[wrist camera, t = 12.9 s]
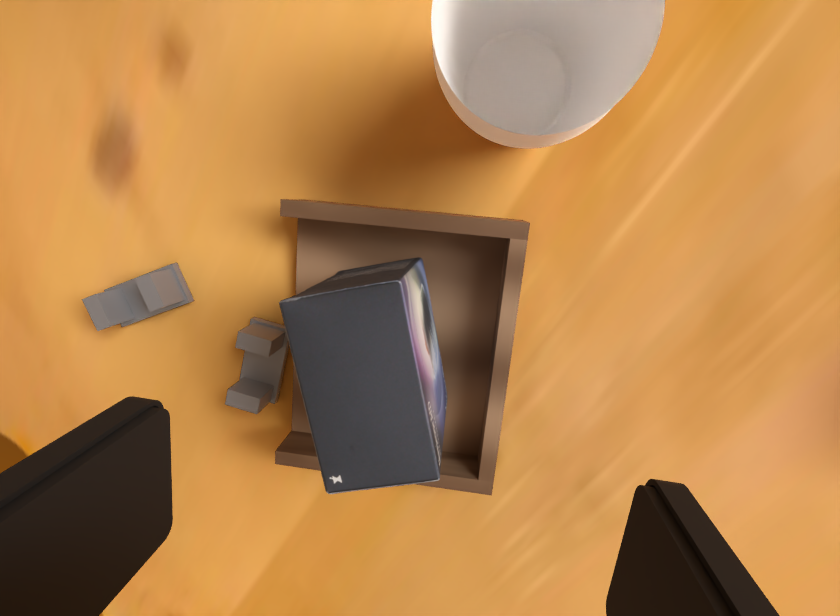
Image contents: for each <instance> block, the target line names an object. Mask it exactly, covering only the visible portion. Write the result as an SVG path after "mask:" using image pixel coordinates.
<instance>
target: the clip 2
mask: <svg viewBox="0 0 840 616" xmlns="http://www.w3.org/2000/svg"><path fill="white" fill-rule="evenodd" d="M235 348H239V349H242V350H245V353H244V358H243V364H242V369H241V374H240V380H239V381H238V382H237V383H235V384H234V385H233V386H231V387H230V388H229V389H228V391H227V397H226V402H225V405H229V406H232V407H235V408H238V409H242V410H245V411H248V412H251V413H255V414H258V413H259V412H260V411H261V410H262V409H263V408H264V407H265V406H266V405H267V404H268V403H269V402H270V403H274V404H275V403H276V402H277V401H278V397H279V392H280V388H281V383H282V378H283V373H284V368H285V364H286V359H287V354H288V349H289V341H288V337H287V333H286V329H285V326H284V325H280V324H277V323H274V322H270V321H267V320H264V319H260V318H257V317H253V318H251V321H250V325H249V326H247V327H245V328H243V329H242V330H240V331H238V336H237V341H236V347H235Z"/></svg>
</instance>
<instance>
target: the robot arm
mask: <svg viewBox="0 0 840 616" xmlns="http://www.w3.org/2000/svg"><path fill="white" fill-rule="evenodd" d="M172 520H173V516H172V479H171V442H170V415H169V412H168V410H166V409H164V408H163V405H162V403H161V402H160V401H158V400H151V399H145V398H139V397H127V398H125V399H123V400H122V401H120V402H118V403H117V404H115V405H113V406H112V407H110V408H108V409H107V410H105V411H103V412H102V413H100V414H98V415H97V416H95V417H93V418H92V419H90V420H88V421H87V422H85V423H83V424H82V425H80V426H78V427H77V428H75V429H73V430H72V431H70V432H68V433H67V434H65V435H63V436H62V437H60V438H58V439H57V440H55V441H53V442H52V443H50V444H48V445H47V446H45V447H43V448H42V449H40V450H38V451H37V452H35V453H33V454H32V455H30V456H28V457H27V458H25V459H23V460H22V461H20V462H18V463H17V464H15V465H14V466H12V467H10V468H8V469H7V470H5V471H3V472H2V473H1V474H0V616H99V615H100V614H101V613H102V612H103V610H104V609H105V608H106V607H107V606H108V605H109V604H110V602H111V601H112V600H113V599H114V598H115V597H116V596H117V594H118V593H119V592H120V591H121V590H122V589H123V588H124V586H125V585H126V584H127V583H128V582H129V581H130V580H131V578H132V577H133V576H134V575H135V574H136V573H137V572H138V570H139V569H140V568H141V567H142V566H143V565H144V564H145V562H146V561H147V560H148V559H149V558H150V557H151V556H152V554H153V553H154V552H155V551H156V550H157V549H158V548H159V546H160V545H161V544H162V543H163V542H164V541H165V539H166V538H167V536H168V534H169V532H170V530H171V526H172ZM606 614H607V616H779V614H778V613H777V612H776V610H775V609H774V607H773V606H772V605H771V603H770V602H769V600H768V599H767V598H766V596H765V595H764V594H763V592H762V591H761V589H760V588H759V587H758V585H757V584H756V582H755V581H754V580H753V578H752V577H751V575H750V574H749V573H748V571H747V570H746V569H745V567H744V566H743V564H742V563H741V562H740V560H739V559H738V557H737V556H736V555H735V553H734V552H733V550H732V549H731V548H730V546H729V545H728V544H727V542H726V541H725V539H724V538H723V537H722V535H721V534H720V532H719V531H718V530H717V528H716V527H715V525H714V524H713V523H712V521H711V520H710V519H709V517H708V516H707V514H706V513H705V512H704V510H703V509H702V507H701V506H700V505H699V503H698V502H697V500H696V499H695V498H694V496H693V495H692V494H691V492H690V491H689V489H688V488H687V487H686V486H685V485H684V484H681V483H674V482H668V481H662V480H656V479H650V480H648V482H647V483H646V485H645V486H643V485H639V486H638V487H637V488H636V491H635V494H634V497H633V501H632V505H631V509H630V512H629V516H628V520H627V524H626V528H625V531H624V535H623V539H622V543H621V546H620V550H619V554H618V558H617V561H616V565H615V569H614V573H613V577H612V580H611V584H610V588H609V592H608V595H607V600H606Z"/></svg>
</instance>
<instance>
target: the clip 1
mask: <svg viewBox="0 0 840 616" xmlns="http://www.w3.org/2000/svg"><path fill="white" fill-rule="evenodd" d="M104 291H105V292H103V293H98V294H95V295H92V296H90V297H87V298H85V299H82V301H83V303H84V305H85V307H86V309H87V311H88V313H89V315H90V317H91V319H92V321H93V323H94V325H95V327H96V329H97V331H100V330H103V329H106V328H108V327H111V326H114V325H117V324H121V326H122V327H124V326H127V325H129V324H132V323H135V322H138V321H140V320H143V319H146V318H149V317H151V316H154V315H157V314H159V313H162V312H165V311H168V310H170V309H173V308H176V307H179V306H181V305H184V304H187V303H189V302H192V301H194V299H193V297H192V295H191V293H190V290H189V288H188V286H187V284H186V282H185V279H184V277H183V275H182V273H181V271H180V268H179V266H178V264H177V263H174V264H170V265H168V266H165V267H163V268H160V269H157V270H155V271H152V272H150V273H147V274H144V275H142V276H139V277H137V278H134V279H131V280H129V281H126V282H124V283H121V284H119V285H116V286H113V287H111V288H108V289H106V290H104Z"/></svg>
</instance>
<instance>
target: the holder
mask: <svg viewBox="0 0 840 616" xmlns="http://www.w3.org/2000/svg"><path fill="white" fill-rule="evenodd" d="M280 216H285V217H295V218H298V232H297V266H296V295H297V294H299V293H301V292H303V291H305V290H306V289H308V288H310V287H312V286H314V285H316V284H318V283H320V282H322V281H324V280H326V279H327V278H330V277H332V276H334V275H335V274H336V273H337V272H338V271H342V270H348V269H353V268H359V267H365V266H370V265H376V264H382V263H387V262H394V261H398V260H405V259H412V258H418V257H420V258H422V260H423V264H424V269H425V274H426V279H427V284H428V289H429V294H430V300H431V305H432V311H433V316H434V321H435V327H436V332H437V338H438V344H439V349H440V355H441V360H442V366H443V372H444V378H445V383H446V390H447V397H448V398H447V408H446V417H445V428H444V438H443V448H442V459H441V468H440V480H438V481H433V482H425V483H418V484H417V485H424V486H431V487H438V488H445V489H451V490H458V491H465V492H472V493H479V494H486V495H492V489H493V482H494V474H495V467H496V460H497V453H498V446H499V439H500V432H501V425H502V418H503V411H504V404H505V396H506V389H507V382H508V375H509V368H510V361H511V354H512V347H513V340H514V333H515V325H516V318H517V311H518V304H519V297H520V290H521V283H522V276H523V269H524V262H525V255H526V247H527V240H528V233H529V226H530V223H529V222H526V221H523V220H514V219H503V218H492V217H482V216H471V215H461V214H450V213H439V212H429V211H418V210H408V209H397V208H386V207H376V206H365V205H354V204H344V203H333V202H323V201H312V200H289V199H281V208H280ZM275 464H279V465H286V466H293V467H300V468H307V469H313V470H320V466H319V462H318V458H317V454H316V450H315V446H314V442H313V438H312V434H311V430H310V425H309V421H308V418H307V414H306V410H305V406H304V402H303V398H302V394H301V390H300V386H299V382H298V378H297V374H296V369H295V365H294V369H293V404H292V431H291V432H290V433H289V435H288V436H287V437H286V438H285V440H284V441H283V442H282V443H281V445H280V446H279V447H278V448H277V450H276V451H275ZM320 471H321V470H320Z"/></svg>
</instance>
